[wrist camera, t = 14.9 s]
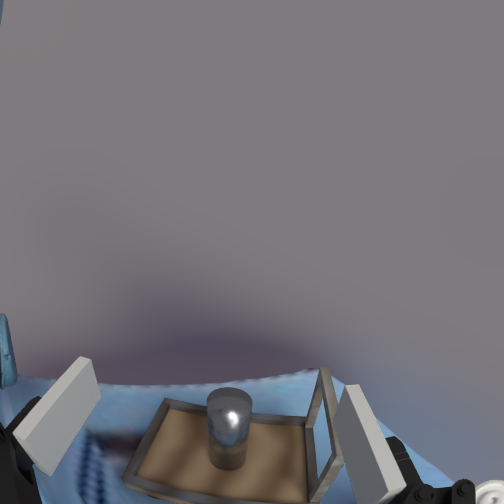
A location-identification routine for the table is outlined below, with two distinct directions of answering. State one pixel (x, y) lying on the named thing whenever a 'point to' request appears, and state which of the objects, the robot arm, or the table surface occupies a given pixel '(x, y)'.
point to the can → (490, 492)
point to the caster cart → (257, 458)
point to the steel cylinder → (228, 427)
